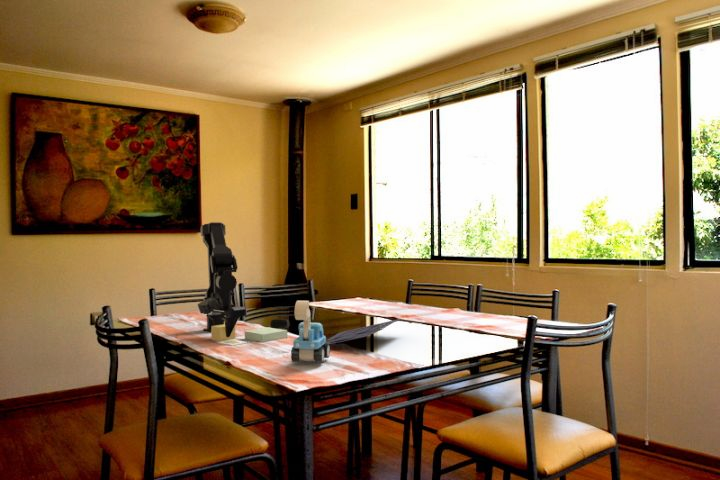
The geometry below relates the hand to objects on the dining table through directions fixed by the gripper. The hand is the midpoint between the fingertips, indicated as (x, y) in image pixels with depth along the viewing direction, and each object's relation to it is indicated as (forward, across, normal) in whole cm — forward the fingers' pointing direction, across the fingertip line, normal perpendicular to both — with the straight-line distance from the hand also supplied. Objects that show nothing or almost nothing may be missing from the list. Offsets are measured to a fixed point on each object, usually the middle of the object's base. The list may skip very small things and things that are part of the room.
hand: (223, 336), depth 182 cm
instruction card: (+1, +8, -2) cm, 8 cm away
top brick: (+1, 0, 0) cm, 1 cm away
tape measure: (+1, +4, +24) cm, 25 cm away
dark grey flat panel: (+2, +36, +26) cm, 45 cm away
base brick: (+2, +10, +10) cm, 14 cm away
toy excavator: (+1, +48, -6) cm, 48 cm away
